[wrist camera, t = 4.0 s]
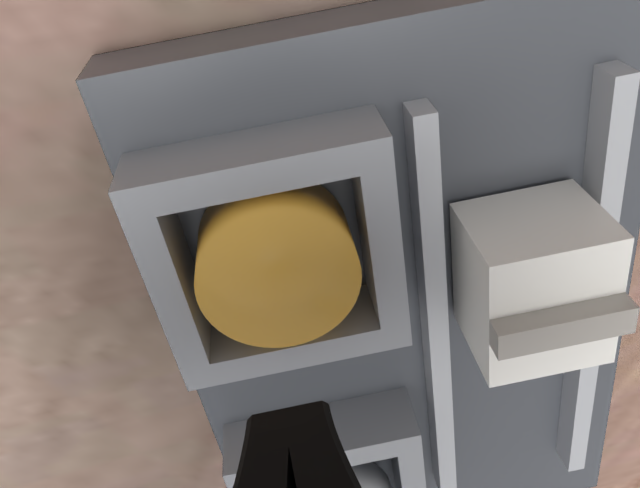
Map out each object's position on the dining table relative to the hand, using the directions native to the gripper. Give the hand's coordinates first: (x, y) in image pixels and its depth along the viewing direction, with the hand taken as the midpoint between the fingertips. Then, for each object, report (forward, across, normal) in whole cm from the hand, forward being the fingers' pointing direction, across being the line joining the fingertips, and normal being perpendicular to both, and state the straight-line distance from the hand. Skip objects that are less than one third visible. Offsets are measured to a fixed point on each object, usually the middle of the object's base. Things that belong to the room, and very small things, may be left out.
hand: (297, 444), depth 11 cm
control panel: (+9, -4, +5) cm, 11 cm away
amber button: (+7, 0, 0) cm, 7 cm away
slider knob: (+7, -6, +2) cm, 10 cm away
